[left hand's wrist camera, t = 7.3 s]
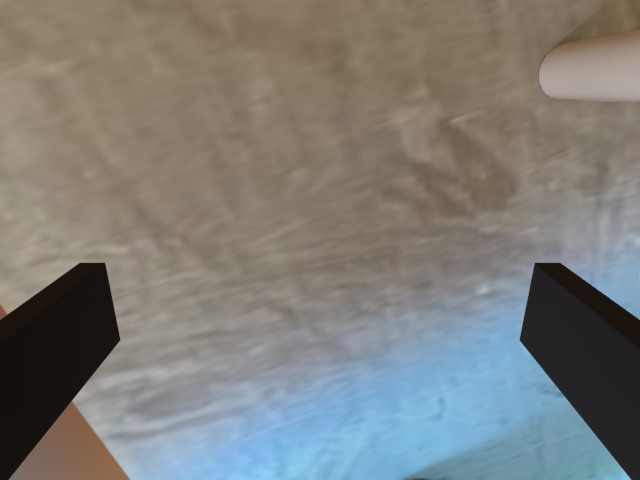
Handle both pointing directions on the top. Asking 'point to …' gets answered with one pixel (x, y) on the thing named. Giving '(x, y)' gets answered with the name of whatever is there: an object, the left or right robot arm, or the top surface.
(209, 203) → the top surface
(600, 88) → the bottle
